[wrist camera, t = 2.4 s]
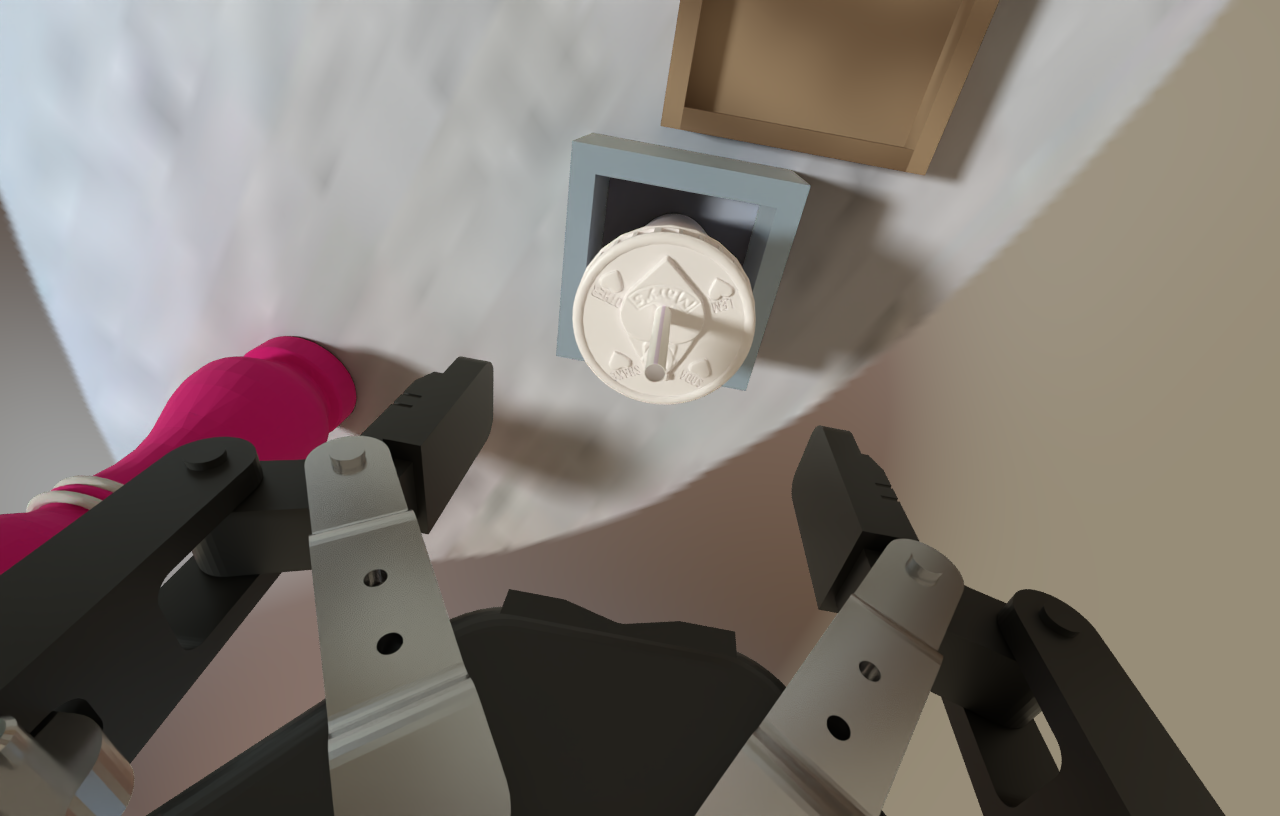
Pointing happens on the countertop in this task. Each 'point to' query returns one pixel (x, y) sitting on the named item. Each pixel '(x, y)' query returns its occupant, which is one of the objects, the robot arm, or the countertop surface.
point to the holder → (687, 172)
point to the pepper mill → (209, 429)
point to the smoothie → (664, 313)
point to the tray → (825, 74)
